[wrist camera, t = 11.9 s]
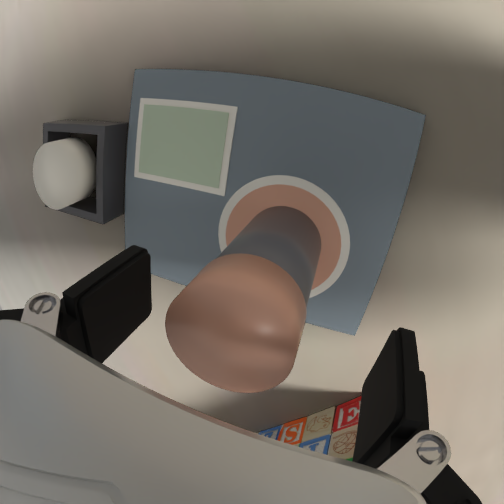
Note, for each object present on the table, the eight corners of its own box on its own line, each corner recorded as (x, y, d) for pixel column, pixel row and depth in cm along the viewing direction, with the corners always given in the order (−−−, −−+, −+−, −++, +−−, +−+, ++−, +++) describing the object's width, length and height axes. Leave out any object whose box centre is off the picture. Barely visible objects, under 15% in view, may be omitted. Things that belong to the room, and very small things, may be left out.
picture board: (422, 115, 14) (426, 115, 13) (354, 328, 20) (354, 337, 20) (142, 70, 17) (133, 69, 17) (131, 260, 24) (124, 265, 23)
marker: (332, 216, 17) (311, 311, 9) (312, 287, 19) (278, 406, 11) (251, 195, 18) (165, 267, 10) (239, 267, 20) (166, 367, 12)
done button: (99, 139, 18) (73, 144, 16) (98, 204, 20) (74, 215, 18) (56, 135, 19) (32, 140, 17) (57, 194, 21) (34, 203, 19)
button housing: (128, 122, 19) (104, 126, 17) (123, 213, 22) (103, 224, 20) (66, 119, 20) (43, 123, 18) (65, 197, 23) (45, 206, 21)
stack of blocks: (367, 388, 22) (352, 533, 12) (401, 425, 23) (395, 549, 12) (203, 444, 32) (159, 527, 22) (239, 470, 33) (205, 550, 22)
